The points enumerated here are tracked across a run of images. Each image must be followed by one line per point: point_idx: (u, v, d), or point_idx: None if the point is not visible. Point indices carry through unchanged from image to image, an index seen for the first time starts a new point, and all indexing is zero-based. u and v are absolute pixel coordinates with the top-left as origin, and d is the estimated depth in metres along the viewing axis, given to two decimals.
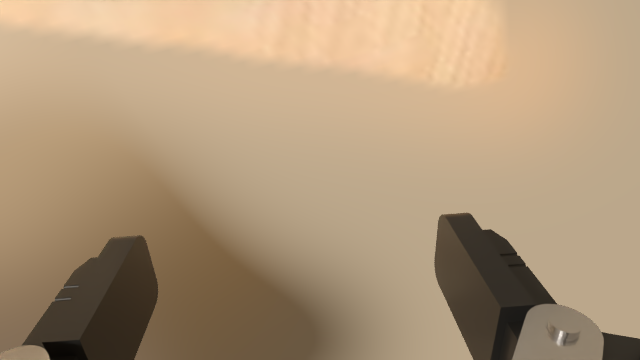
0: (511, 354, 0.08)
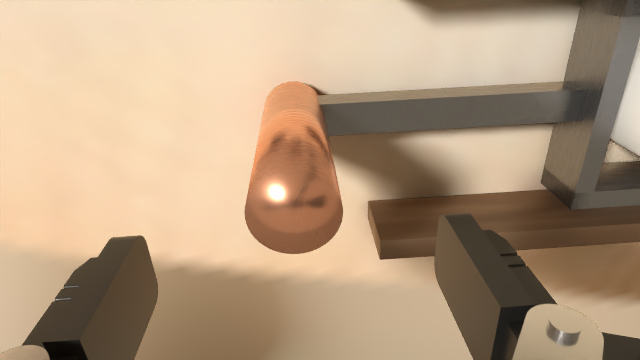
0: (511, 354, 0.08)
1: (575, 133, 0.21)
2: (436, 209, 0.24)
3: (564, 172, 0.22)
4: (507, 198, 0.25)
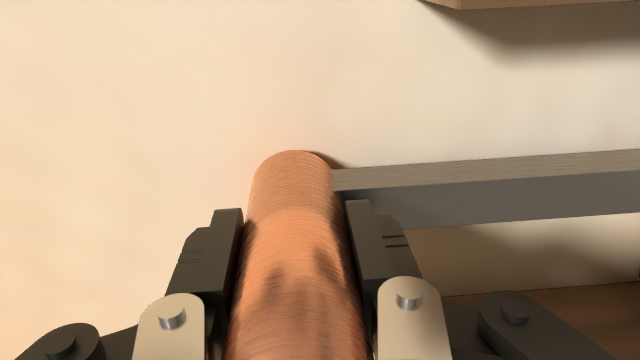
0: (374, 322, 0.09)
1: None
2: None
3: None
4: (592, 298, 0.18)
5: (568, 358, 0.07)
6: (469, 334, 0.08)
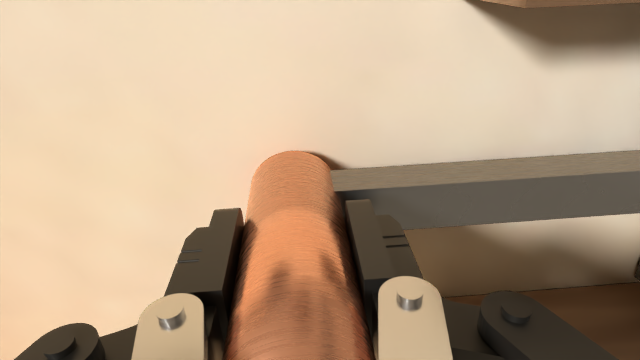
0: (375, 322, 0.09)
1: None
2: None
3: None
4: (622, 296, 0.18)
5: (568, 358, 0.07)
6: (469, 334, 0.08)
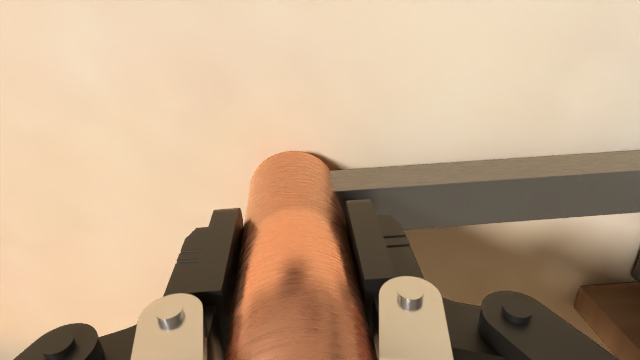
0: (375, 322, 0.09)
1: None
2: None
3: None
4: None
5: (569, 358, 0.07)
6: (470, 334, 0.08)
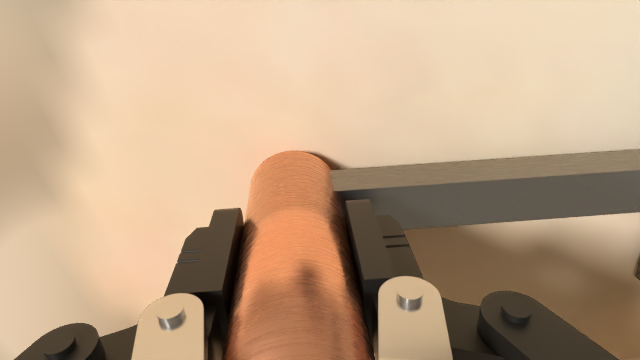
0: (375, 322, 0.09)
1: None
2: None
3: None
4: None
5: (569, 358, 0.07)
6: (470, 334, 0.08)
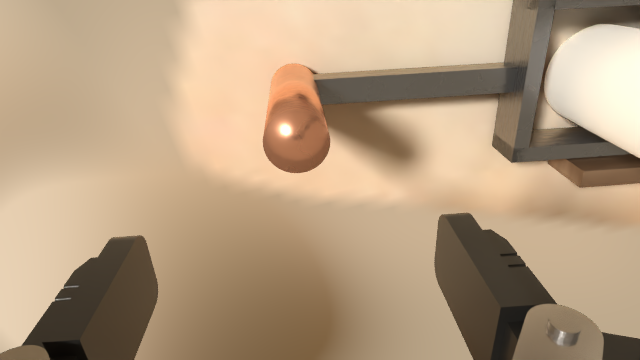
0: (511, 354, 0.08)
1: (512, 102, 0.27)
2: None
3: (506, 134, 0.29)
4: None
5: None
6: None
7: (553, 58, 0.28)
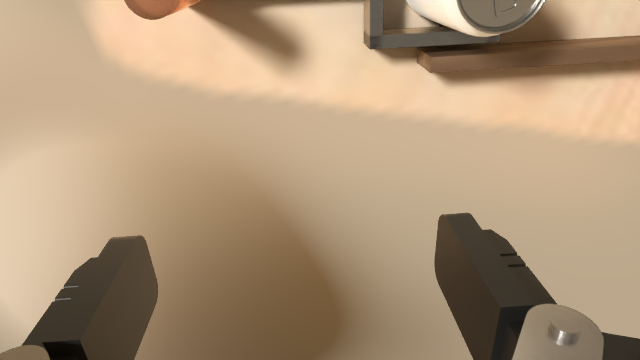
0: (511, 354, 0.08)
1: None
2: (465, 48, 0.36)
3: (367, 26, 0.34)
4: (512, 44, 0.37)
5: None
6: None
7: None
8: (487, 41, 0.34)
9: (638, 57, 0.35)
